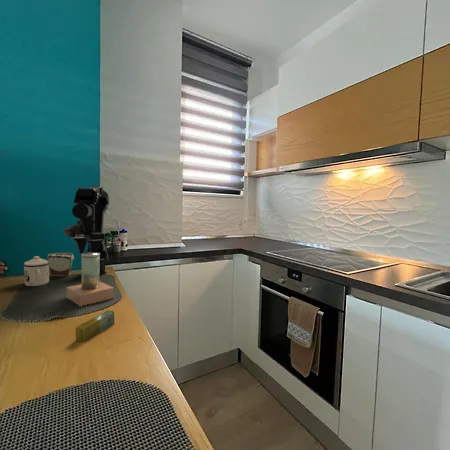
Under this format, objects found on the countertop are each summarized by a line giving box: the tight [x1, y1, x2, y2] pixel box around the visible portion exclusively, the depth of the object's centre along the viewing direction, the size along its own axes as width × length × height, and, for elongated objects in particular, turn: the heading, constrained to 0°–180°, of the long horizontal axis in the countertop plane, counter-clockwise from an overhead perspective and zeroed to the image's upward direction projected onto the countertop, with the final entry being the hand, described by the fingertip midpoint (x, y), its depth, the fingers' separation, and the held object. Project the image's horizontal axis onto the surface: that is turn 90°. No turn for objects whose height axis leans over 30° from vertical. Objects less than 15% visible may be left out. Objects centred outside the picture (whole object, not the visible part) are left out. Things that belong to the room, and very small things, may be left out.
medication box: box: [75, 310, 115, 343], centre depth 77 cm, size 12×3×4 cm, turn 162°
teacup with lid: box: [23, 255, 50, 287], centre depth 115 cm, size 12×9×12 cm
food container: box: [46, 252, 75, 278], centre depth 132 cm, size 12×6×10 cm, turn 84°
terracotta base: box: [66, 280, 115, 307], centre depth 102 cm, size 12×12×4 cm
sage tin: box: [80, 251, 100, 290], centre depth 102 cm, size 6×6×13 cm
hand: (86, 255), depth 114 cm, fingers open, 9 cm apart
